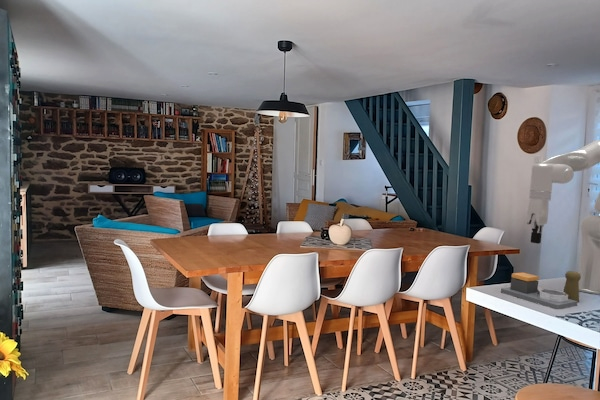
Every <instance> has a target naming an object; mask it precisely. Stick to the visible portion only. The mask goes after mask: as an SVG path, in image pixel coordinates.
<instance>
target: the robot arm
mask: <svg viewBox="0 0 600 400" xmlns="http://www.w3.org/2000/svg"><path fill="white" fill-rule="evenodd" d="M597 164H600V139H597V140H594V141H592V142H590V143H588V144H586V145H584V146H582V147H581V148H579V149H576V150H574V151H570V152H566V153H563V154H559V155H555V156H553V157H550V158H547V159H546V160H544V161H541V162H540V163H534V164H533V165H532V167H531V175H530V186H529V195H528V198H529V201H528V205H527V211H526V218H525V219H526V220H525V224H526V225H530V226H529V227H530V229H531V230H530V231H531V232H530V243H532V244H541V243H542V242H541V241H542V233H543V228H544V226H545V225H546V224H548V218H549V206H550V204H549V202H551V200H552V190H553V189H552V188H553V184H560V185H562V184H567V183H569V182H571V181H572V180H573V179H574V175H575V174H574V172H581V171H586V170H588V169H590V168H591V167H594V166H596V165H597ZM594 210H595V212H597V213H598V214H600V191H599V193H598V195H597V197H596V200H595V202H594ZM580 232H581V246H580V247H581V248H580V257H579V263H578V264H579V265H578V273H579V274H580V275H581V278H580V280H579V292H583V293H585V294H586V293H587V294H593V295H600V215H587V216H585V217H584V218H583V219H582V221H581V224H580Z"/></svg>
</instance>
